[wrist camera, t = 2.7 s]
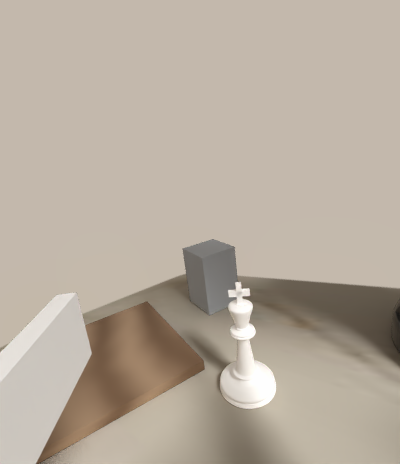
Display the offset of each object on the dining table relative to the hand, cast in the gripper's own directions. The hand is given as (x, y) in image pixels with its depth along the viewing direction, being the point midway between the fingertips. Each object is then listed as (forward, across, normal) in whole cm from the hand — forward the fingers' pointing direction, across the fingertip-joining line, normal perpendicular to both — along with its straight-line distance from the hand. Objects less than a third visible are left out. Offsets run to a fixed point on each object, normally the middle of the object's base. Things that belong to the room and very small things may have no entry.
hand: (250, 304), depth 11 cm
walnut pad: (+16, -13, -14) cm, 25 cm away
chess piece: (+11, +1, -14) cm, 18 cm away
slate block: (+26, -1, -14) cm, 30 cm away
